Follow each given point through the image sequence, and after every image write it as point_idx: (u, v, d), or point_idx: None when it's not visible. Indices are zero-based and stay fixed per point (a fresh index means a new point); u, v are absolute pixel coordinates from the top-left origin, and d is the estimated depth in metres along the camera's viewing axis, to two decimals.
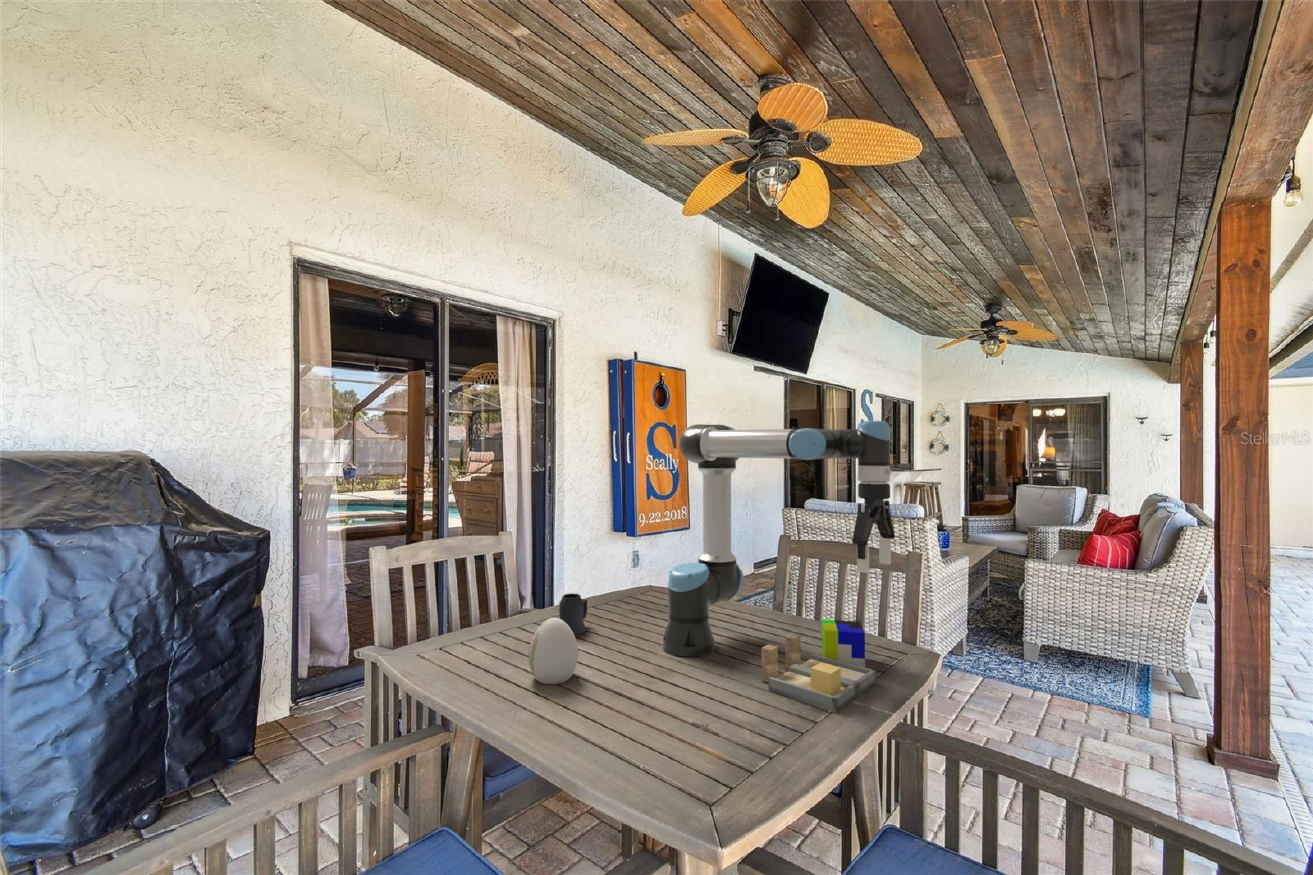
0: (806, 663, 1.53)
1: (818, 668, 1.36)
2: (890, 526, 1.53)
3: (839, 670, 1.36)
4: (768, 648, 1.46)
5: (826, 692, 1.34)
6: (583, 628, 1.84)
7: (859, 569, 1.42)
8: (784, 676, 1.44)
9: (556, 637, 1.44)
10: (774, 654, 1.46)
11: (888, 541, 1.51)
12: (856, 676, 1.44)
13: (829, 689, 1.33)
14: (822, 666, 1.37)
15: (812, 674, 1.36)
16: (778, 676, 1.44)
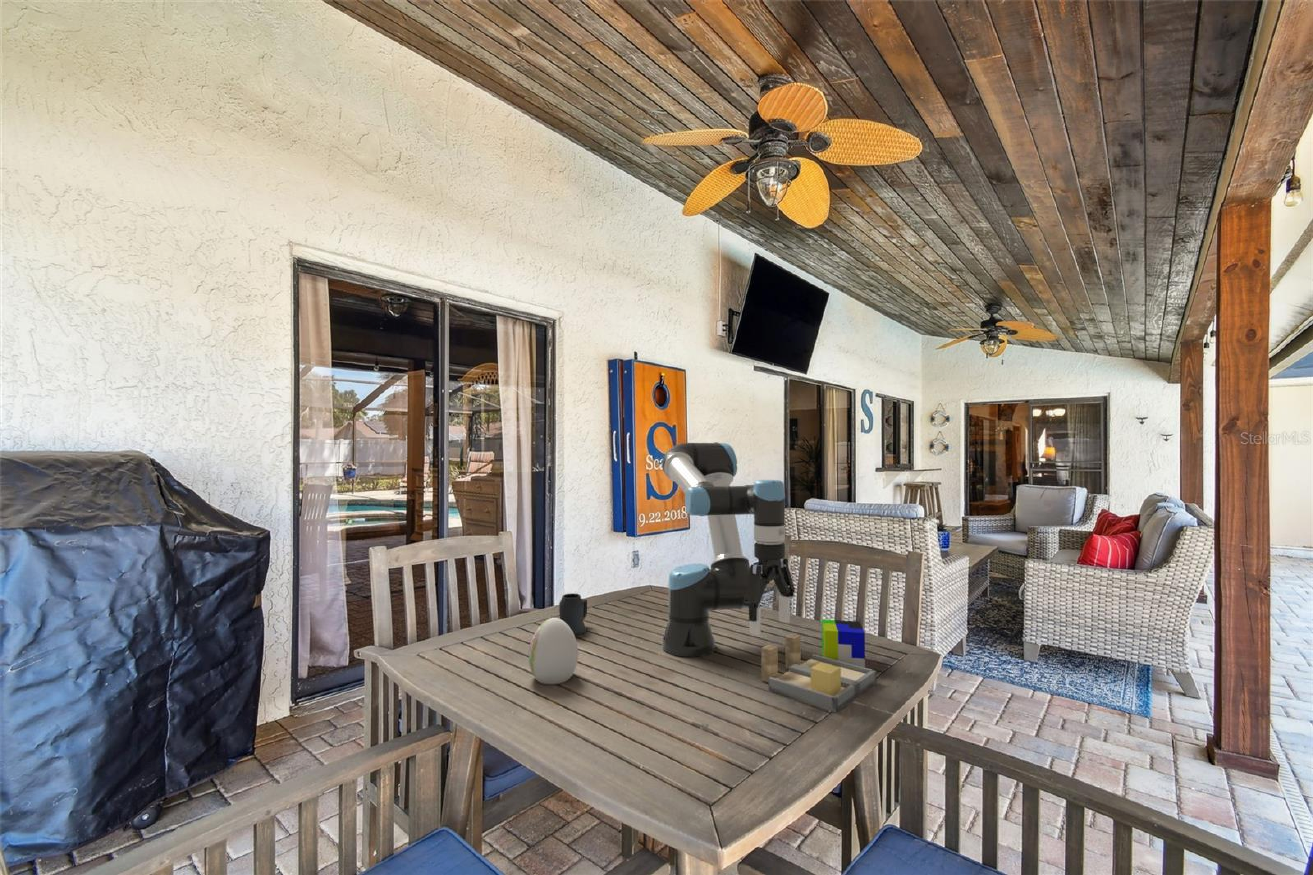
0: (806, 663, 1.53)
1: (818, 668, 1.36)
2: (789, 584, 1.52)
3: (839, 670, 1.36)
4: (768, 648, 1.46)
5: (826, 692, 1.34)
6: (583, 628, 1.84)
7: (751, 631, 1.42)
8: (784, 676, 1.44)
9: (556, 637, 1.44)
10: (774, 654, 1.46)
11: (787, 599, 1.51)
12: (856, 676, 1.44)
13: (829, 689, 1.33)
14: (822, 666, 1.37)
15: (812, 674, 1.36)
16: (778, 676, 1.44)
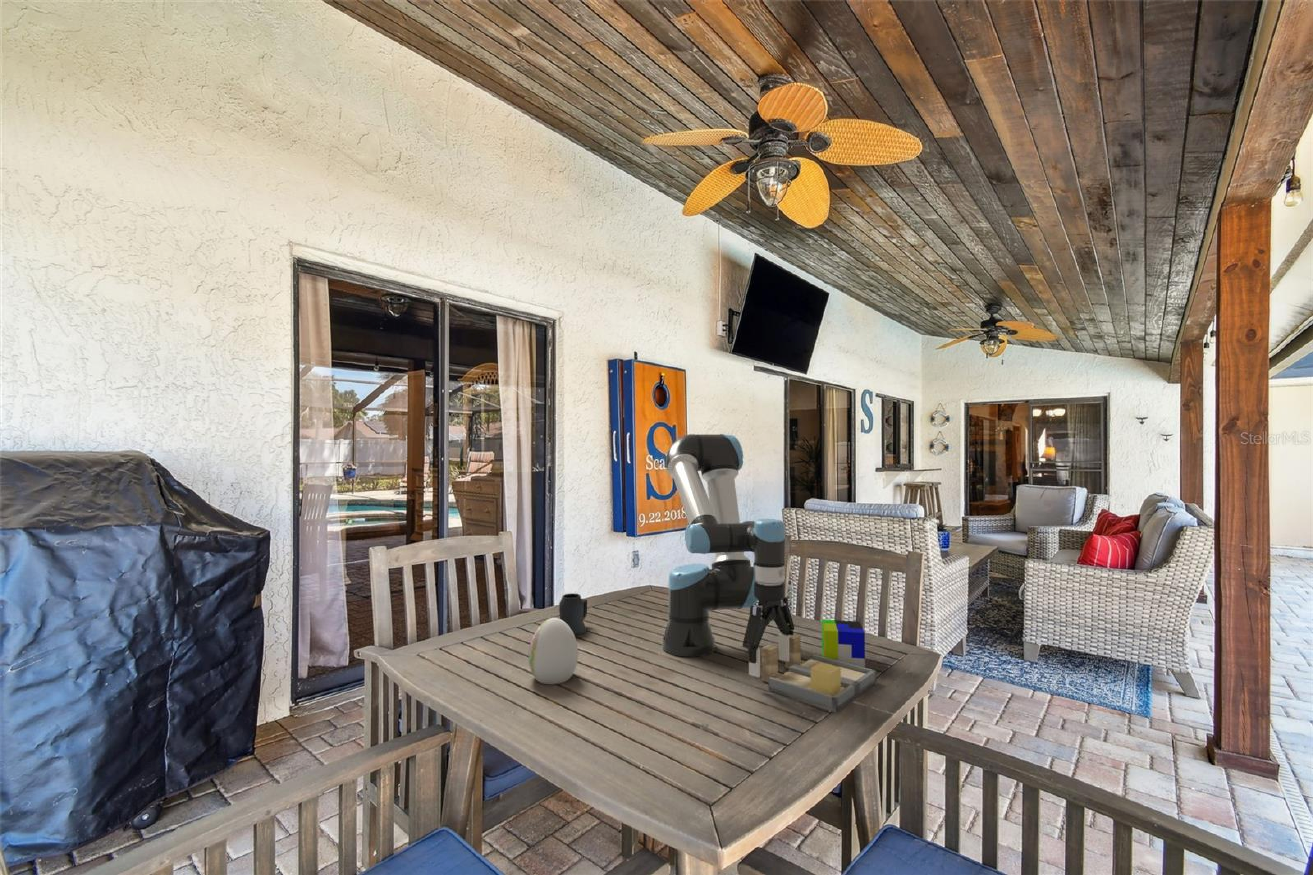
0: (806, 663, 1.53)
1: (818, 668, 1.36)
2: (789, 622, 1.52)
3: (839, 670, 1.36)
4: (768, 648, 1.46)
5: (826, 692, 1.34)
6: (583, 628, 1.84)
7: (751, 672, 1.42)
8: (784, 676, 1.44)
9: (556, 637, 1.44)
10: (774, 654, 1.46)
11: (786, 638, 1.51)
12: (856, 676, 1.44)
13: (829, 689, 1.33)
14: (822, 666, 1.37)
15: (812, 674, 1.36)
16: (778, 676, 1.44)
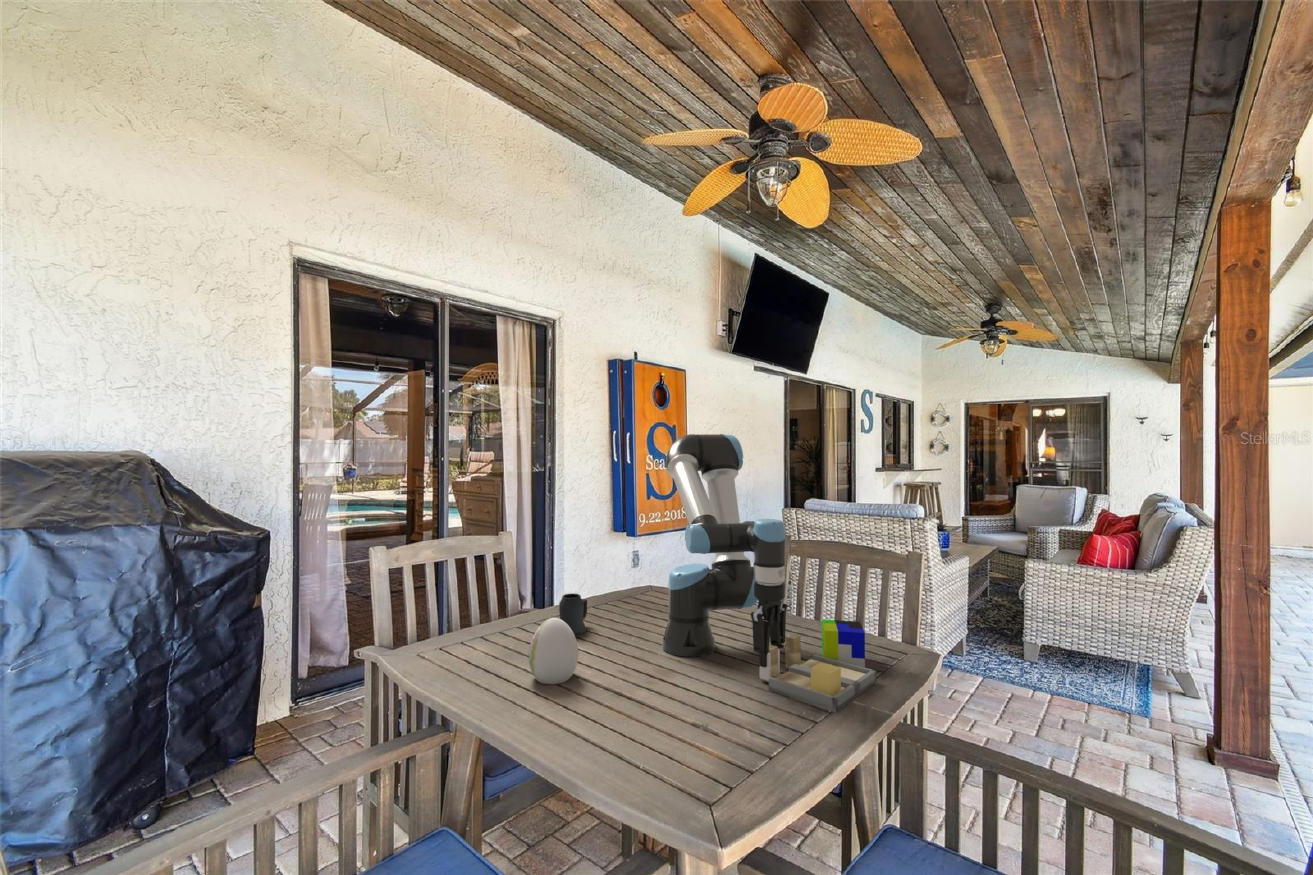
0: (806, 663, 1.53)
1: (818, 668, 1.36)
2: (782, 632, 1.49)
3: (839, 670, 1.36)
4: None
5: (826, 692, 1.34)
6: (583, 628, 1.84)
7: (761, 676, 1.45)
8: (784, 676, 1.44)
9: (556, 637, 1.44)
10: (774, 654, 1.46)
11: None
12: (856, 676, 1.44)
13: (829, 689, 1.33)
14: (822, 666, 1.37)
15: (812, 674, 1.36)
16: (778, 676, 1.44)
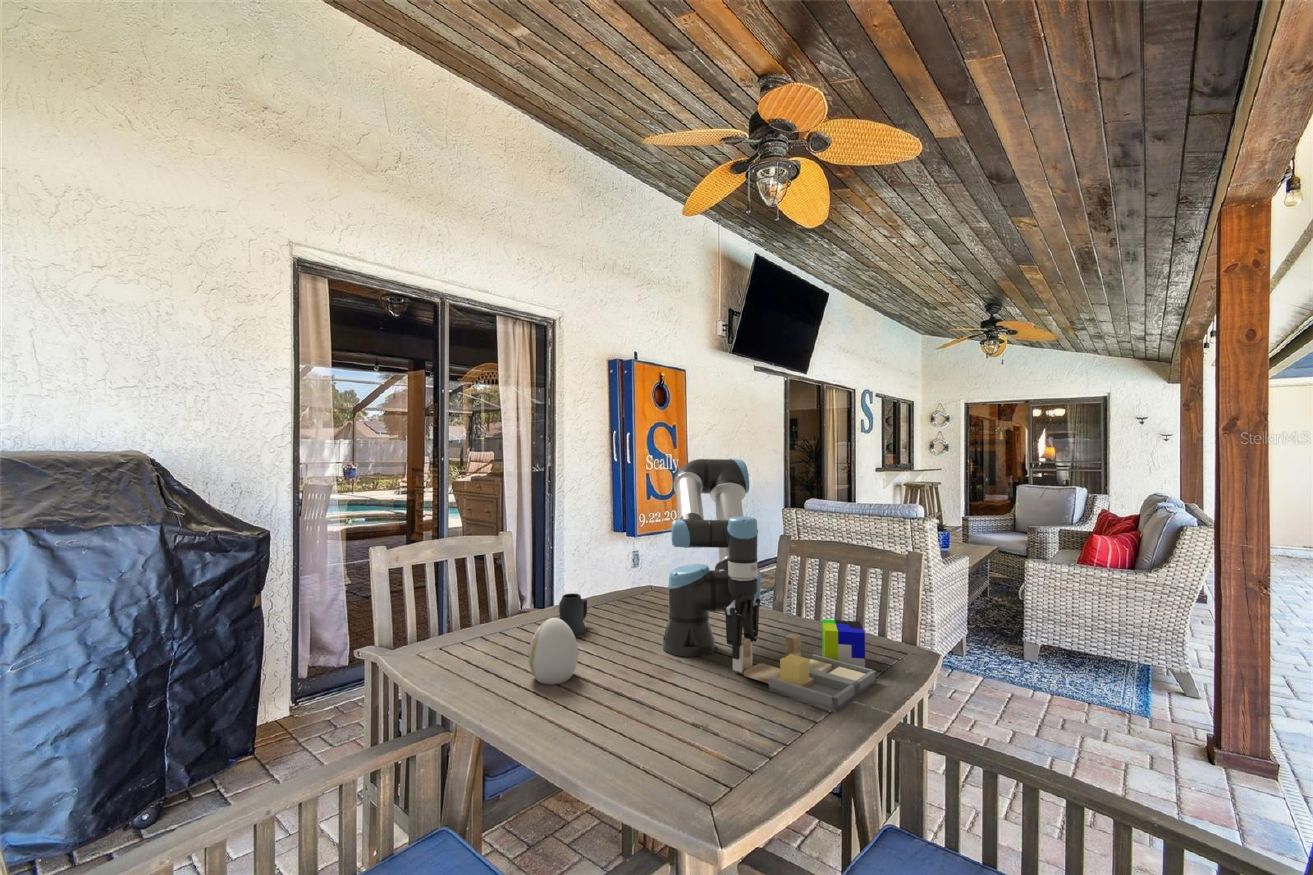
0: None
1: (787, 659, 1.42)
2: (755, 626, 1.55)
3: (807, 661, 1.42)
4: (741, 641, 1.51)
5: (794, 682, 1.39)
6: (583, 628, 1.84)
7: (734, 668, 1.51)
8: (756, 668, 1.50)
9: (556, 637, 1.44)
10: (747, 646, 1.52)
11: None
12: (856, 676, 1.44)
13: (797, 679, 1.39)
14: (791, 658, 1.43)
15: (782, 665, 1.41)
16: (750, 668, 1.50)
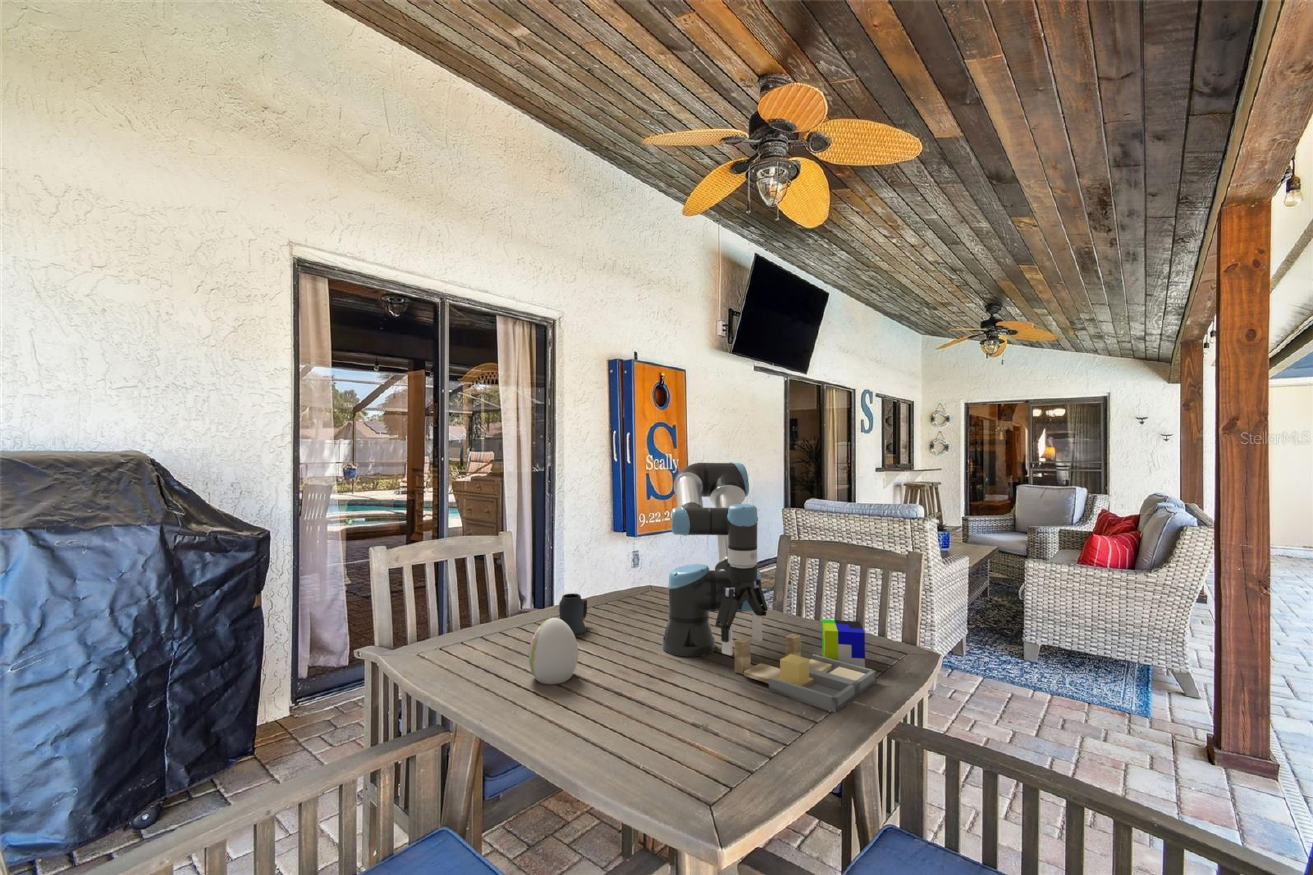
0: None
1: (787, 659, 1.42)
2: (762, 603, 1.58)
3: (807, 661, 1.42)
4: (741, 641, 1.51)
5: (794, 682, 1.39)
6: (583, 628, 1.84)
7: (723, 651, 1.48)
8: (756, 668, 1.50)
9: (556, 637, 1.44)
10: (747, 646, 1.52)
11: (759, 618, 1.57)
12: (856, 676, 1.44)
13: (797, 679, 1.39)
14: (791, 657, 1.43)
15: (781, 665, 1.41)
16: (750, 668, 1.50)
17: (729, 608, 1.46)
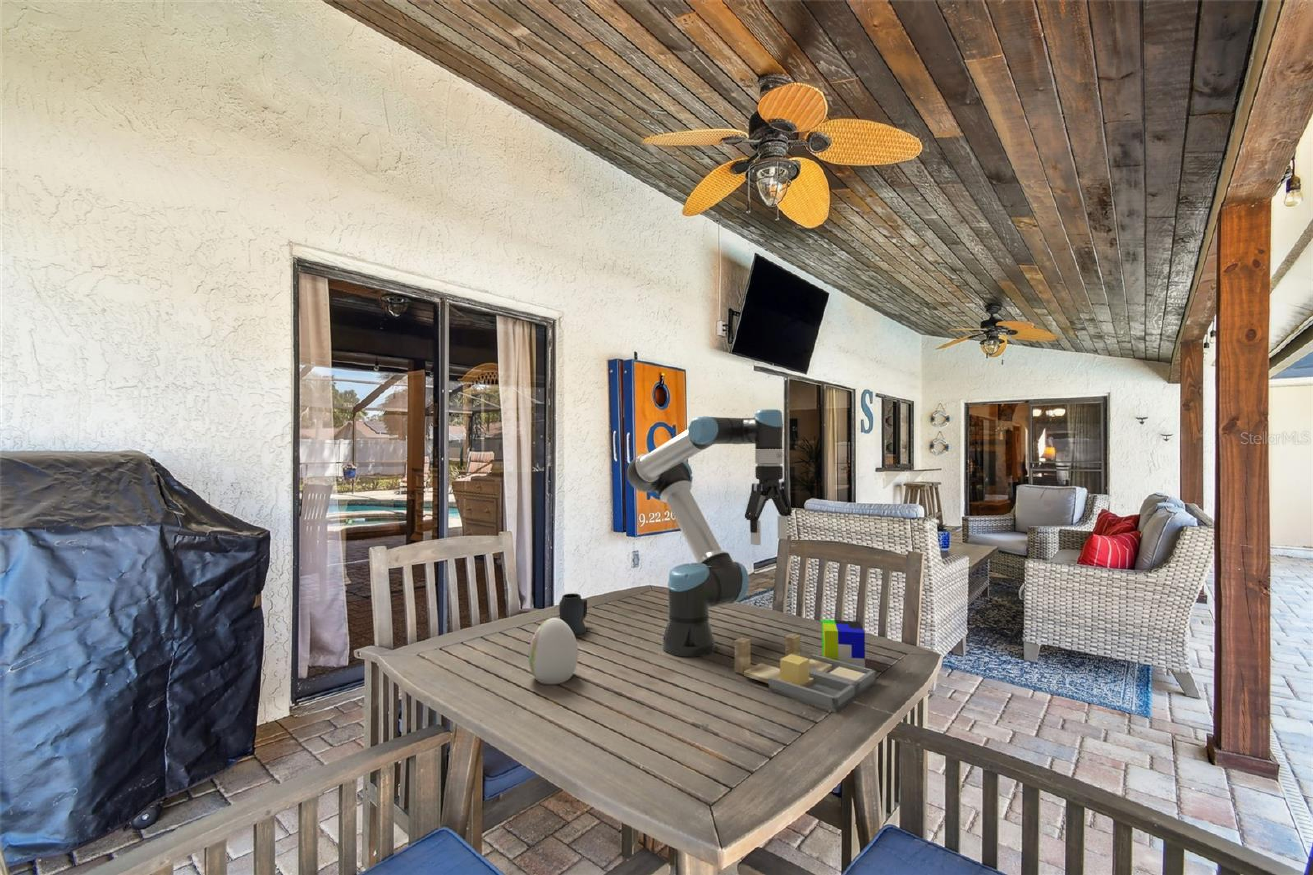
0: None
1: (787, 659, 1.42)
2: (787, 505, 1.69)
3: (807, 661, 1.42)
4: (741, 641, 1.51)
5: (794, 682, 1.39)
6: (583, 628, 1.84)
7: (752, 542, 1.59)
8: (756, 668, 1.50)
9: (556, 637, 1.44)
10: (747, 646, 1.52)
11: (784, 518, 1.68)
12: (856, 676, 1.44)
13: (797, 679, 1.39)
14: (791, 657, 1.43)
15: (781, 665, 1.41)
16: (750, 668, 1.50)
17: (757, 501, 1.57)
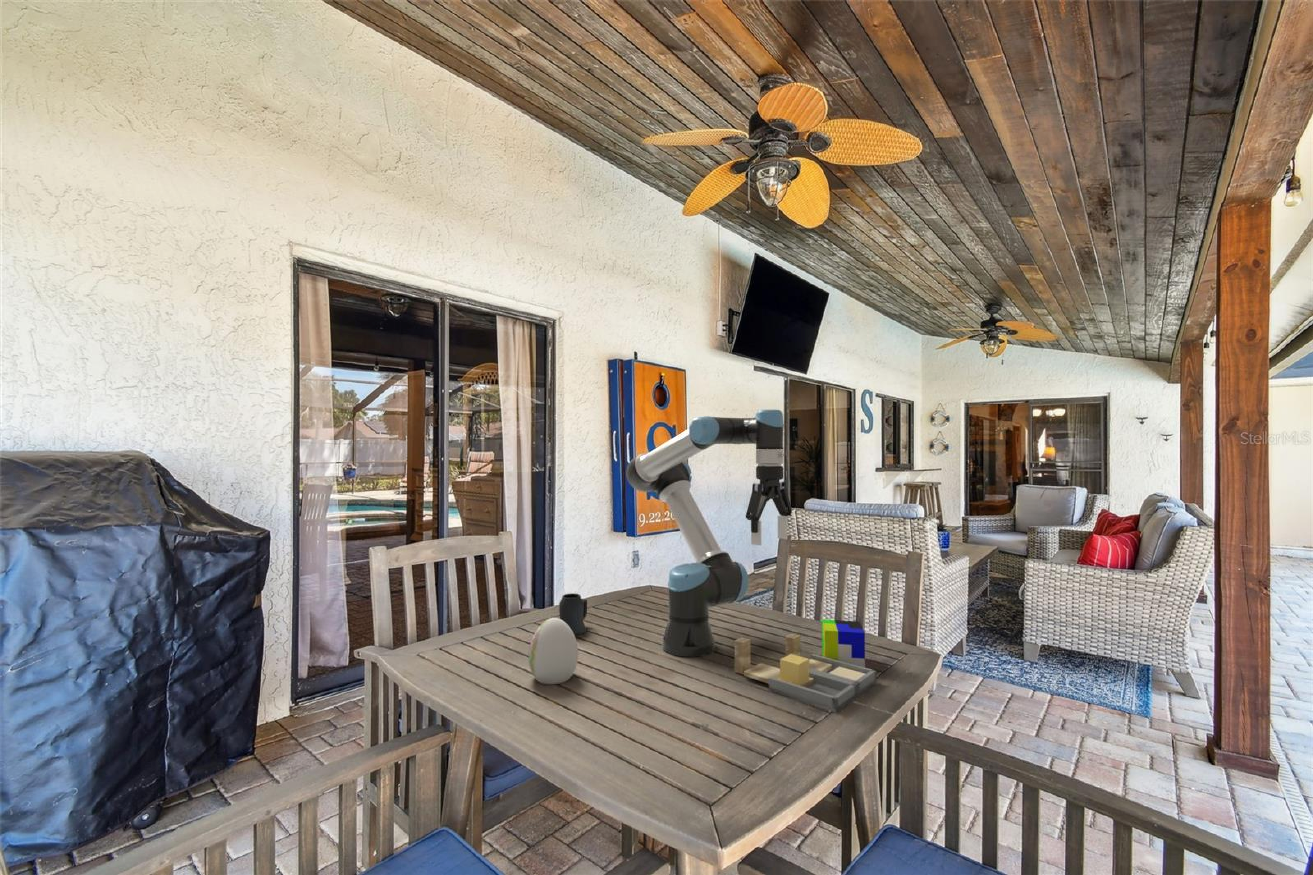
0: None
1: (787, 659, 1.42)
2: (787, 505, 1.69)
3: (807, 661, 1.42)
4: (741, 641, 1.51)
5: (794, 682, 1.39)
6: (583, 628, 1.84)
7: (753, 542, 1.59)
8: (756, 668, 1.50)
9: (556, 637, 1.44)
10: (747, 646, 1.52)
11: (785, 518, 1.68)
12: (856, 676, 1.44)
13: (797, 679, 1.39)
14: (791, 657, 1.43)
15: (781, 665, 1.41)
16: (750, 668, 1.50)
17: (758, 501, 1.58)
